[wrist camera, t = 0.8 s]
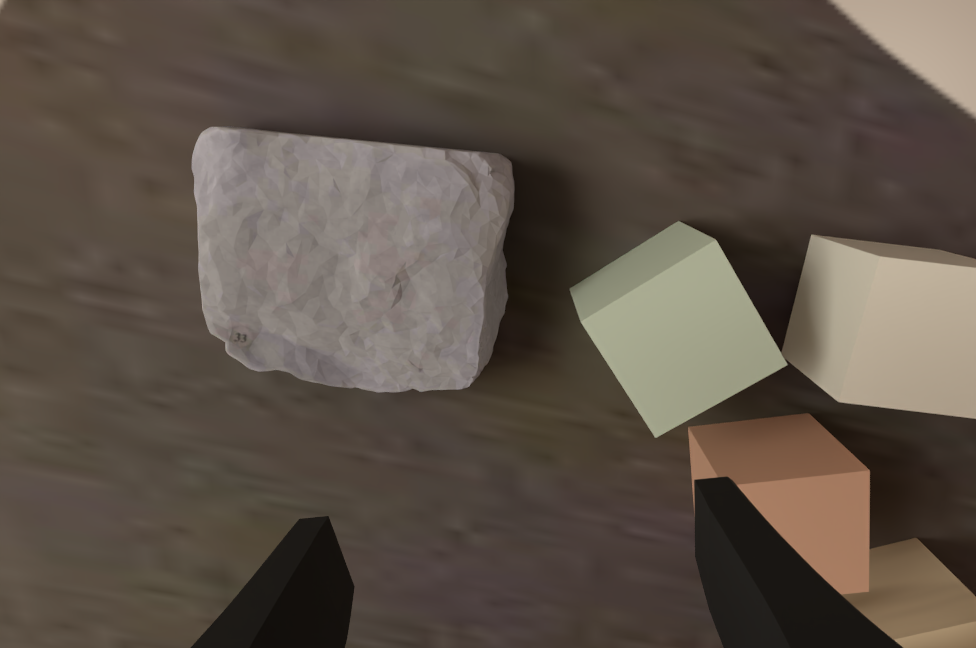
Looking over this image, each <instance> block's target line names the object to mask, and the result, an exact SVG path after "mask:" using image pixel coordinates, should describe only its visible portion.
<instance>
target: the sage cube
mask: <svg viewBox="0 0 976 648" xmlns="http://www.w3.org/2000/svg"><path fill="white" fill-rule="evenodd" d="M569 290H570V293H571V295H572V298H573V301H574V304H575V307H576V310H577V313H578V316H579V319H580V321H581V323H582V325H583V326H584V328H585V329H586V331H587V332H588V334H589V336H590V337H591V339H592V340H593V342H594V343H595V345H596V346H597V348H598V349H599V351H600V353H601V354H602V356H603V357H604V359H605V360H606V362H607V363H608V365H609V367H610V368H611V370H612V371H613V373H614V374H615V376H616V377H617V379H618V380H619V382H620V384H621V385H622V387H623V388H624V390H625V391H626V393H627V394H628V396H629V398H630V399H631V401H632V402H633V404H634V405H635V407H636V408H637V410H638V411H639V413H640V415H641V416H642V418H643V419H644V421H645V422H646V424H647V425H648V427H649V429H650V430H651V432H652V433H653V435H654V436H655V438H656V437H658V436H660V435H662V434H664V433H665V432H667V431H669V430H671V429H673V428H674V427H676V426H678V425H680V424H682V423H684V422H685V421H687V420H689V419H691V418H693V417H694V416H696V415H698V414H700V413H702V412H703V411H705V410H707V409H709V408H711V407H712V406H714V405H716V404H718V403H720V402H722V401H723V400H725V399H727V398H729V397H731V396H732V395H734V394H736V393H738V392H740V391H741V390H743V389H745V388H747V387H749V386H750V385H752V384H754V383H756V382H758V381H760V380H761V379H763V378H765V377H767V376H769V375H770V374H772V373H774V372H776V371H778V370H779V369H781V368H783V367H785V366H787V365H788V364H787V363H786V361H785V359H784V357H783V356H782V354H781V352H780V350H779V349H778V347H777V345H776V343H775V342H774V340H773V338H772V336H771V335H770V333H769V331H768V329H767V328H766V326H765V324H764V322H763V321H762V319H761V317H760V316H759V314H758V312H757V310H756V309H755V307H754V305H753V303H752V302H751V300H750V298H749V296H748V295H747V293H746V291H745V289H744V288H743V286H742V284H741V282H740V281H739V279H738V277H737V275H736V274H735V272H734V270H733V268H732V267H731V265H730V263H729V261H728V260H727V258H726V256H725V254H724V253H723V251H722V249H721V247H720V246H719V244H718V242H717V240H716V239H714V238H712V237H710V236H708V235H706V234H704V233H702V232H700V231H698V230H696V229H694V228H692V227H690V226H688V225H686V224H684V223H682V222H680V221H678V222H676V223H675V224H673V225H671V226H670V227H668V228H667V229H665V230H663V231H662V232H660V233H658V234H657V235H655V236H654V237H652V238H650V239H649V240H647V241H646V242H644V243H642V244H641V245H639V246H638V247H636V248H634V249H633V250H631V251H629V252H628V253H626V254H625V255H623V256H621V257H620V258H618V259H617V260H615V261H613V262H612V263H610V264H608V265H607V266H605V267H604V268H602V269H600V270H599V271H597V272H596V273H594V274H592V275H591V276H589V277H588V278H586V279H584V280H583V281H581V282H579V283H578V284H576V285H575V286H573V287H571V288H570V289H569Z"/></svg>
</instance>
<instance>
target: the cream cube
mask: <svg viewBox="0 0 976 648" xmlns="http://www.w3.org/2000/svg"><path fill="white" fill-rule="evenodd" d="M781 354H782V356H783V357H784V358H785V359H786V360H787V361H789V362H790V363H791V364H792V365H793V366H795V367H796V368H797V369H798V370H800V371H801V372H802V373H803V374H804V375H806V376H807V377H808V378H809V379H811V380H812V381H813V382H814V383H816V384H817V385H818V386H819V387H820V388H822V389H823V390H824V391H825V392H827V393H828V394H829V395H830V396H832V397H833V398H834V399H835V400H836V401H838V402H842V403H850V404H859V405H867V406H875V407H883V408H892V409H900V410H908V411H916V412H925V413H933V414H941V415H950V416H958V417H966V418H974V419H976V259H973V258H970V257H966V256H962V255H958V254H954V253H950V252H946V251H943V250H937V249H929V248H920V247H912V246H904V245H895V244H887V243H878V242H870V241H861V240H853V239H845V238H836V237H828V236H819V235H811V238H810V242H809V246H808V250H807V254H806V258H805V262H804V266H803V269H802V273H801V277H800V281H799V285H798V289H797V293H796V297H795V301H794V305H793V309H792V313H791V317H790V321H789V325H788V329H787V333H786V337H785V341H784V345H783V349H782V353H781Z"/></svg>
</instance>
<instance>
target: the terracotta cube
mask: <svg viewBox="0 0 976 648" xmlns="http://www.w3.org/2000/svg"><path fill="white" fill-rule="evenodd" d="M688 431H689V445H690V459H691V472H692V486H693V500H694V513H695V496H694V480H696V479H706V478H716V477H726V476H727V477H729V478H730V479H731V480H733V481H734V482H735V484H736V485H737V486H738V487H739V489H740V490H741V491H742V492H743V493H744V495H745V496H746V497H747V498H748V499H749V500H750V502H751V503H752V504H753V505H754V506H755V507H756V509H757V510H758V511H759V512H760V513H761V514H762V515H763V516H764V518H765V519H766V520H767V521H768V522H769V523H770V524H771V525H772V526H773V527H774V529H775V530H776V531H777V532H778V533H779V534H780V535H781V536H782V537H783V538H784V539H785V540H786V541H787V542H788V543H789V544H790V545H791V546H792V547H793V548H794V549H795V550H796V552H797V553H798V554H799V555H800V556H801V557H802V558H803V559H804V560H805V561H806V562H807V563H808V564H809V565H810V566H811V567H812V568H813V569H814V570H815V571H816V572H817V573H819V574H820V575H821V576H822V577H823V578H824V579H825V580H826V581H827V582H828V583H829V584H830V585H831V586H832V587H833V588H834V589H836V590H837V591H838V592H839V593H840V594H850V593H861V592H869V526H870V470H869V469H868V468H867V467H866V466H865V465H864V464H863V463H861V462H860V461H859V460H858V459H857V458H856V457H855V456H854V455H853V454H852V453H851V452H850V451H849V450H848V449H846V448H845V447H844V446H843V445H842V444H841V443H840V442H839V441H838V440H837V439H836V438H835V437H834V436H833V435H831V434H830V433H829V432H828V431H827V430H826V429H825V428H824V427H823V426H822V425H821V424H820V423H819V422H818V421H817V420H815V419H814V418H813V417H812V416H811V415H810V414H809V413H804V414H796V415H787V416H779V417H770V418H761V419H753V420H744V421H735V422H727V423H718V424H710V425H701V426H692V427H688Z"/></svg>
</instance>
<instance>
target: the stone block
mask: <svg viewBox="0 0 976 648" xmlns="http://www.w3.org/2000/svg"><path fill="white" fill-rule="evenodd" d="M192 171H193V174H194V180H195V183H194V195H195V199H196V203H197V220H198V247H199V264H198V271H199V279H200V289H201V297H202V309H203V312H204V316H205V319H206V323H207V326H208V329H209V331H210V333H211V334H212V335H214V336H216V337H218V338H219V339H221V340H223V341H224V342H225V345H226V352H227V353H228V354H229V355H230V356H232V357H233V358H235V359H237V360H238V361H240V362H241V363H242V364H244V365H245V366H246V367H248V368H249V369H252V370H256V371H270V370H281V371H285V372H289V373H291V374H293V375H294V376H296V377H298V378H299V379H302V380H306V381H310V382H316V383H321V384H324V385H328V386H336V387H345V388H354V387H357V388H360V389H364V390H369V391H375V392H402V391H407V390H410V389H412V388H413V389H416V390H418V391H420V392H423V391H427V390H448V389H464V388H467V387H469V386H470V384H471V383H473V382H474V380H475V379H476V378H477V377H478V376H479V375H480V373H481V371H482V370H483V368H484V366H485V365H487V364H488V362H489V359H490V357H491V355H492V352H493V346H494V343H495V340H496V338H497V334H498V329H499V324H500V321H501V318H502V317H503V315H504V314H505V305H506V302H507V299H508V294H507V284H506V272H505V269H506V267H507V263H506V260H505V257H504V254H503V243H504V239H505V235H506V230H507V226H508V224H509V218H510V216H511V214H512V212H513V209H514V190H515V188H514V179H513V174H512V164H511V161H510V160H508V159H507V158H506V157H504V156H503V155H501V154H499V153H489V152H480V151H470V150H459V149H448V148H438V147H427V146H419V145H408V144H397V143H387V142H377V141H367V140H356V139H345V138H336V137H327V136H316V135H306V134H297V133H286V132H278V131H268V130H259V129H252V128H244V127H231V126H223V127H210V128H208V129H206V130H205V131H203V132H202V133H201V135H200V136H199V138H198V140H197V142H196V145H195V148H194V151H193V156H192Z"/></svg>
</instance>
